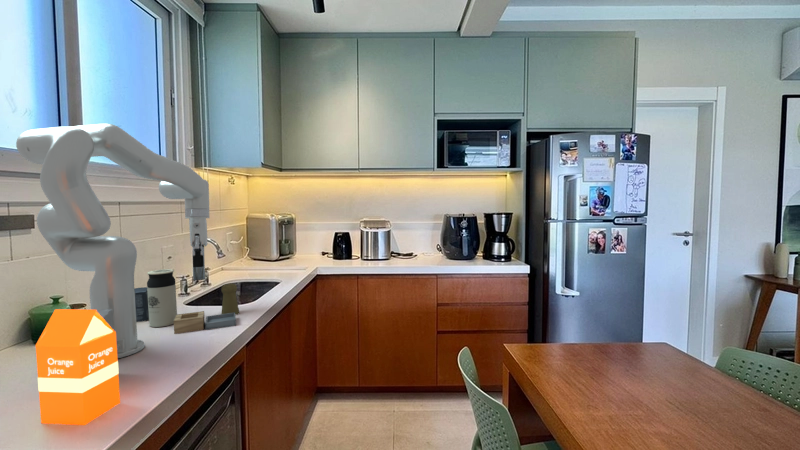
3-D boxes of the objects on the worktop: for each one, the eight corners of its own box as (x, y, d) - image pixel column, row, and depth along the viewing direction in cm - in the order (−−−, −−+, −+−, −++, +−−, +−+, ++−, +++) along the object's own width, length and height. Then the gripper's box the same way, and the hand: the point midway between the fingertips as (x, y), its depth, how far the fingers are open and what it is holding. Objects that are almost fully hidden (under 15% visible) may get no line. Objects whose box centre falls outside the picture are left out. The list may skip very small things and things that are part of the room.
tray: (236, 325, 121) (235, 319, 121) (205, 329, 117) (204, 323, 117) (235, 318, 129) (235, 312, 129) (206, 322, 125) (206, 316, 125)
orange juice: (80, 401, 74) (74, 303, 73) (121, 402, 74) (115, 304, 73) (39, 424, 67) (31, 315, 66) (84, 425, 66) (76, 315, 65)
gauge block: (203, 329, 117) (202, 317, 117) (174, 333, 114) (173, 321, 114) (204, 322, 125) (204, 311, 124) (177, 326, 121) (176, 314, 121)
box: (136, 316, 133) (135, 287, 133) (154, 315, 135) (153, 286, 135) (127, 323, 126) (125, 292, 125) (146, 321, 128) (145, 291, 127)
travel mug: (168, 319, 129) (165, 268, 128) (182, 321, 126) (179, 269, 125) (144, 326, 122) (141, 272, 121) (158, 329, 119) (155, 273, 118)
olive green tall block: (218, 314, 135) (217, 284, 134) (235, 310, 139) (233, 281, 138) (225, 317, 130) (223, 286, 130) (242, 313, 135) (240, 283, 134)
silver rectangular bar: (204, 279, 129) (203, 239, 129) (193, 280, 127) (191, 240, 127) (205, 278, 132) (204, 239, 132) (193, 279, 131) (192, 239, 130)
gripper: (208, 213, 123) (209, 268, 124) (210, 214, 138) (211, 263, 139) (182, 214, 120) (184, 270, 121) (187, 214, 135) (188, 264, 136)
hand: (198, 265), depth 130 cm, fingers closed on silver rectangular bar, 3 cm apart
